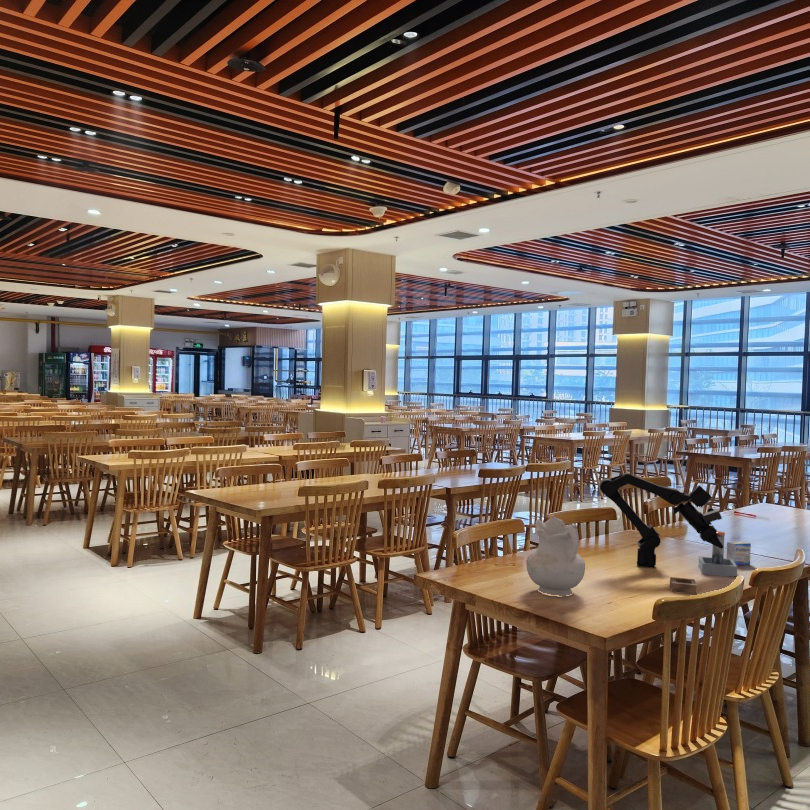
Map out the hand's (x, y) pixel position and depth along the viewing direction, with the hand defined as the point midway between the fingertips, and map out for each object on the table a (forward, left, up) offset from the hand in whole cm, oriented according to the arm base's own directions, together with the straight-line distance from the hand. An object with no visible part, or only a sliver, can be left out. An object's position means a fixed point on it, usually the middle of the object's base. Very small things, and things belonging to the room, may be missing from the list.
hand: (721, 546), depth 268 cm
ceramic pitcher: (-57, -52, -10) cm, 78 cm away
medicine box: (+9, +17, -10) cm, 22 cm away
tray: (-1, 0, -10) cm, 10 cm away
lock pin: (-1, 0, -7) cm, 7 cm away
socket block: (-16, -32, -10) cm, 37 cm away
